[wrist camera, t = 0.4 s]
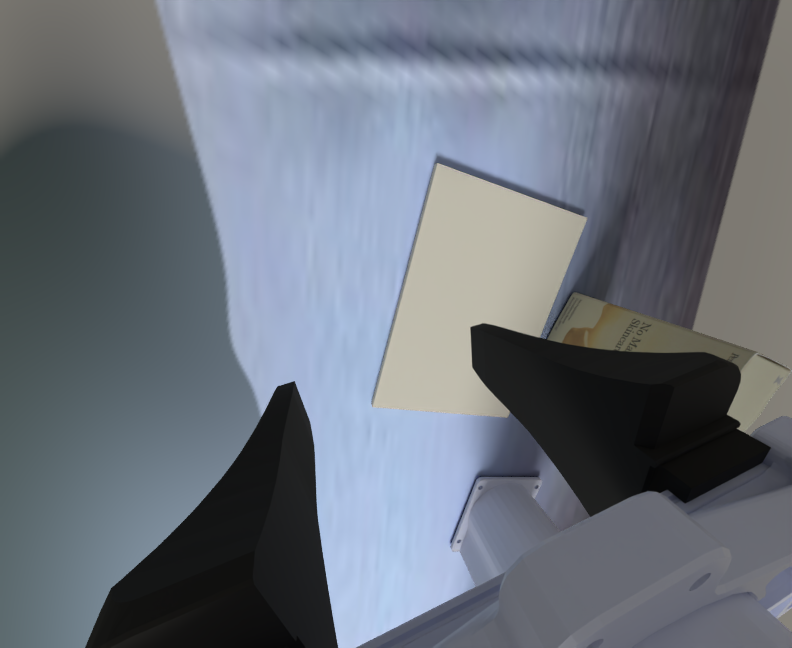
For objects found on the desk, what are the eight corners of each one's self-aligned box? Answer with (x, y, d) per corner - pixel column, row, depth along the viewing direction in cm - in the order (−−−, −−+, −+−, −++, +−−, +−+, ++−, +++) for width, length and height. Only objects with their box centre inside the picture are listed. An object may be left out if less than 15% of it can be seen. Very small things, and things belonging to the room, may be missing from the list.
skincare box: (570, 289, 27) (762, 344, 15) (604, 305, 28) (800, 365, 17) (536, 356, 28) (687, 451, 17) (569, 367, 29) (729, 461, 18)
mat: (504, 414, 29) (507, 417, 29) (371, 403, 25) (372, 407, 24) (582, 218, 24) (587, 218, 24) (434, 164, 20) (437, 162, 20)
